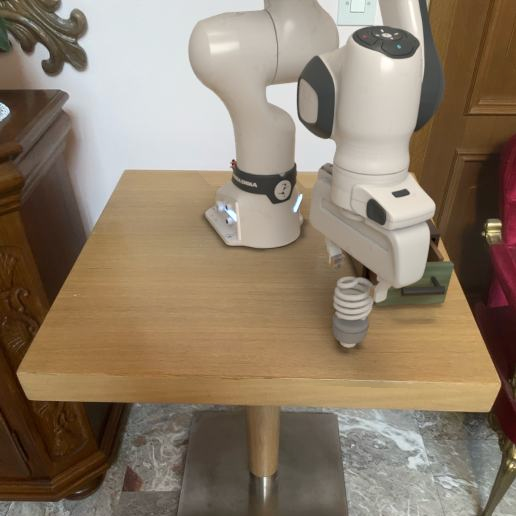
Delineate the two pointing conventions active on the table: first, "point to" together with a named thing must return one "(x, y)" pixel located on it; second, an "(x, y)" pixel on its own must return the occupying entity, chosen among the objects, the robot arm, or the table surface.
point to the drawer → (422, 283)
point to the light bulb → (351, 311)
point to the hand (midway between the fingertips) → (355, 282)
